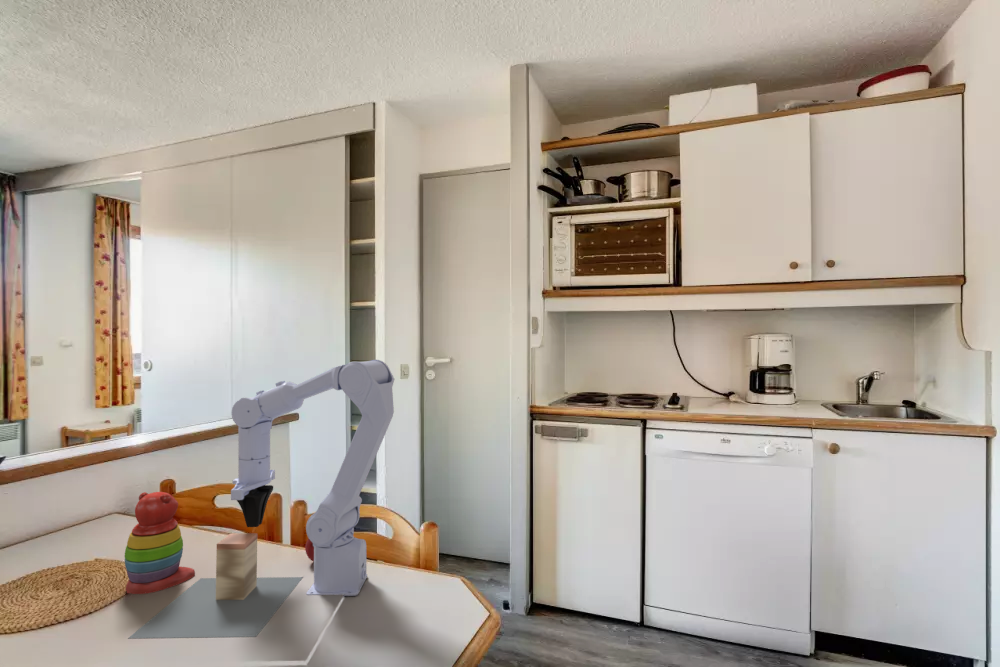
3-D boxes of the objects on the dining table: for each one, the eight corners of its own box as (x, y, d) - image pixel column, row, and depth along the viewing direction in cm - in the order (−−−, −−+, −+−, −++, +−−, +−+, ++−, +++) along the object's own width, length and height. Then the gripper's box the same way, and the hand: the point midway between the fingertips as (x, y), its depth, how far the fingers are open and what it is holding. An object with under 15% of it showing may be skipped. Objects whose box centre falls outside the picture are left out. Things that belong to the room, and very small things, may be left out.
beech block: (256, 586, 96) (257, 533, 97) (243, 599, 91) (244, 544, 92) (229, 586, 96) (230, 533, 96) (215, 599, 91) (216, 543, 91)
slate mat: (303, 579, 100) (303, 577, 100) (255, 639, 80) (255, 636, 80) (200, 580, 100) (200, 578, 100) (127, 641, 80) (127, 638, 80)
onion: (325, 571, 104) (325, 532, 104) (299, 568, 105) (299, 530, 105) (339, 559, 109) (339, 521, 109) (315, 556, 110) (315, 520, 111)
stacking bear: (200, 575, 102) (200, 486, 102) (154, 600, 92) (154, 502, 92) (158, 569, 105) (158, 483, 105) (108, 593, 95) (109, 497, 95)
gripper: (251, 449, 108) (251, 513, 108) (214, 466, 94) (214, 539, 94) (284, 448, 108) (284, 512, 108) (252, 465, 94) (252, 539, 94)
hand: (254, 525), depth 101 cm, fingers closed
